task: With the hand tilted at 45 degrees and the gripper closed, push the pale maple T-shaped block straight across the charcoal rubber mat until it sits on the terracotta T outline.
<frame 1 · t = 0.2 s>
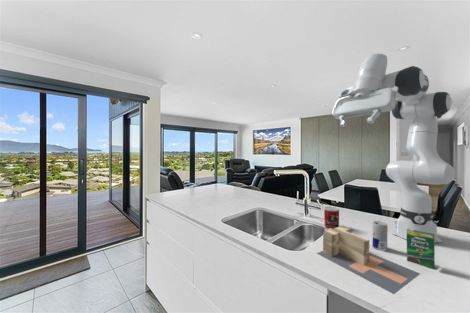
hand: (355, 124, 71), 54 cm above the worktop, tool tilted 30°, fingers open, 8 cm apart
canned food: (331, 227, 116), on the worktop
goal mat: (363, 264, 78), on the worktop
coffee box: (419, 265, 77), on the worktop
energy drink: (379, 249, 90), on the worktop
t block: (348, 255, 84), point 1 cm above the worktop, touching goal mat
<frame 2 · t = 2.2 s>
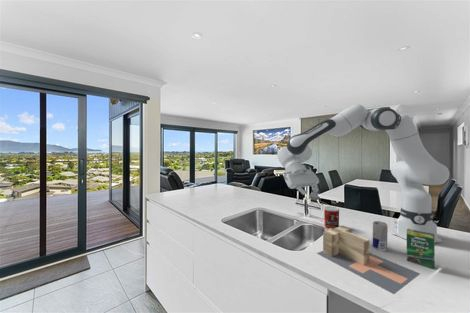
hand: (310, 192, 100), 24 cm above the worktop, tool tilted 45°, fingers open, 7 cm apart
nothing on the worktop moved.
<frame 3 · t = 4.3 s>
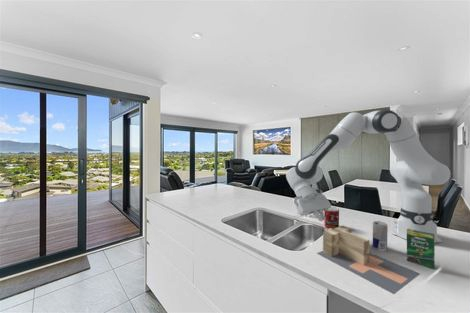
hand: (323, 220, 94), 12 cm above the worktop, tool tilted 45°, fingers closed
nothing on the worktop moved.
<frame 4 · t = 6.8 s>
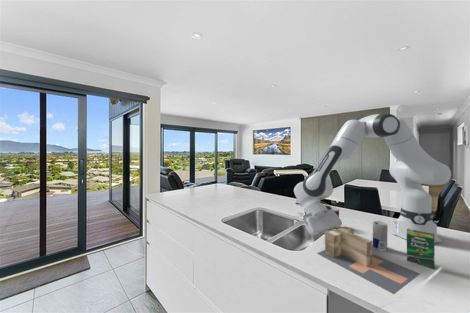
hand: (334, 239, 89), 5 cm above the worktop, tool tilted 45°, fingers closed, pressing on t block
t block: (351, 256, 83), point 1 cm above the worktop, touching gripper
everything else where it was.
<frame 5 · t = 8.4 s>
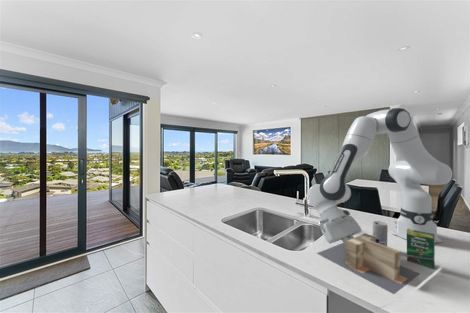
hand: (354, 248, 81), 5 cm above the worktop, tool tilted 45°, fingers closed, pressing on t block
t block: (374, 267, 75), point 1 cm above the worktop, touching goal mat, gripper
everything else where it was.
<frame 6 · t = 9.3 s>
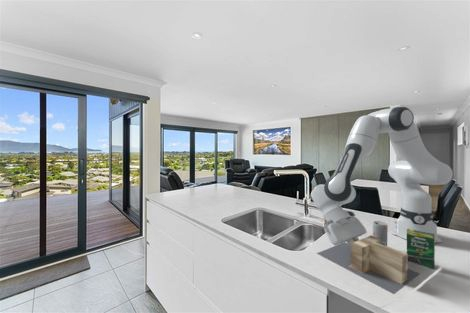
hand: (359, 250, 79), 5 cm above the worktop, tool tilted 45°, fingers closed, pressing on t block
t block: (380, 270, 73), point 1 cm above the worktop, touching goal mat, gripper
everything else where it was.
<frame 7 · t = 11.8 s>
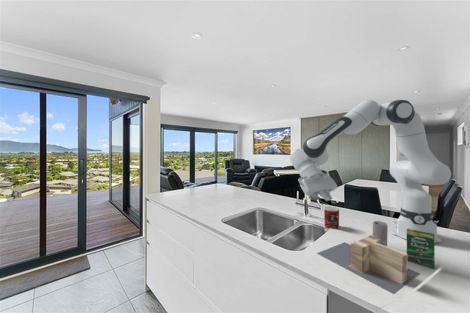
hand: (329, 199, 91), 22 cm above the worktop, tool tilted 45°, fingers closed
t block: (381, 271, 73), point 1 cm above the worktop, touching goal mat
everything else where it was.
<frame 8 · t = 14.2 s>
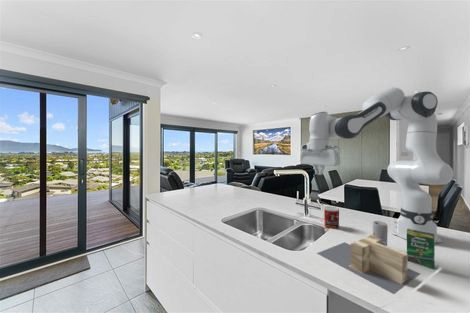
hand: (318, 174, 97), 33 cm above the worktop, tool pointing down, fingers closed
nothing on the worktop moved.
at the end: t block 0.4 cm from the target spot on the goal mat, point 0.6 cm above the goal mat's base; t block tilted 0° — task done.
